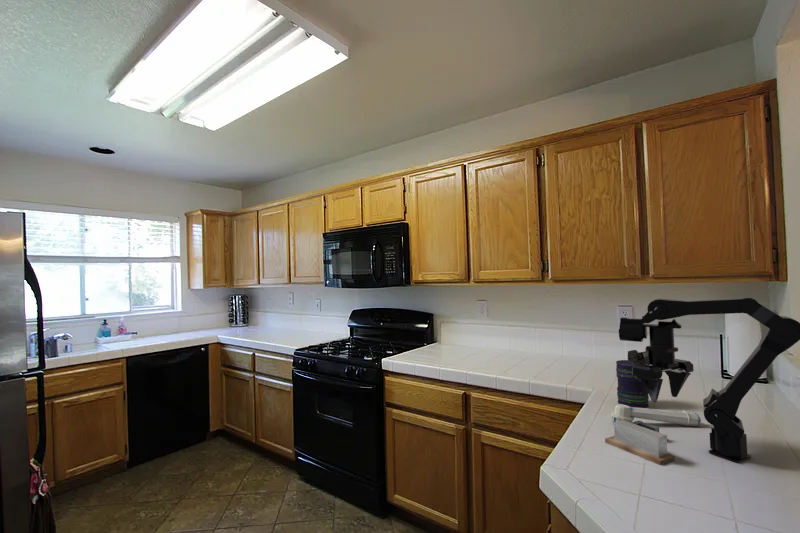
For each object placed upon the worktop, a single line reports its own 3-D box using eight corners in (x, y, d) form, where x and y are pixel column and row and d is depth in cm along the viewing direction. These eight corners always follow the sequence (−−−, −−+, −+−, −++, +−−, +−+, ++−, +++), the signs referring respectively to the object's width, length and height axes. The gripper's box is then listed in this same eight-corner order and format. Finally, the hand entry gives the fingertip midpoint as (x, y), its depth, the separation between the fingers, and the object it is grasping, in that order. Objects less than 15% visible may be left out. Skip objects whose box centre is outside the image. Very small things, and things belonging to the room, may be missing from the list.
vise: (659, 439, 109) (659, 427, 109) (640, 445, 105) (639, 433, 105) (639, 432, 114) (638, 420, 114) (619, 438, 111) (619, 425, 111)
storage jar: (611, 402, 142) (609, 361, 142) (629, 398, 146) (627, 359, 146) (637, 410, 133) (635, 367, 133) (655, 406, 137) (653, 364, 137)
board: (674, 459, 97) (674, 455, 97) (660, 465, 95) (660, 460, 95) (619, 438, 111) (619, 434, 111) (605, 442, 108) (605, 438, 108)
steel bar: (667, 455, 98) (666, 435, 98) (658, 458, 96) (657, 437, 96) (623, 437, 108) (622, 419, 109) (614, 440, 107) (613, 422, 107)
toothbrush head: (703, 416, 116) (617, 403, 119) (700, 438, 116) (615, 425, 119) (691, 410, 122) (609, 398, 124) (689, 431, 122) (607, 419, 124)
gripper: (653, 336, 119) (655, 387, 119) (613, 342, 111) (615, 396, 111) (693, 341, 109) (695, 397, 109) (652, 348, 101) (654, 407, 101)
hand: (664, 399), depth 107 cm, fingers open, 9 cm apart
